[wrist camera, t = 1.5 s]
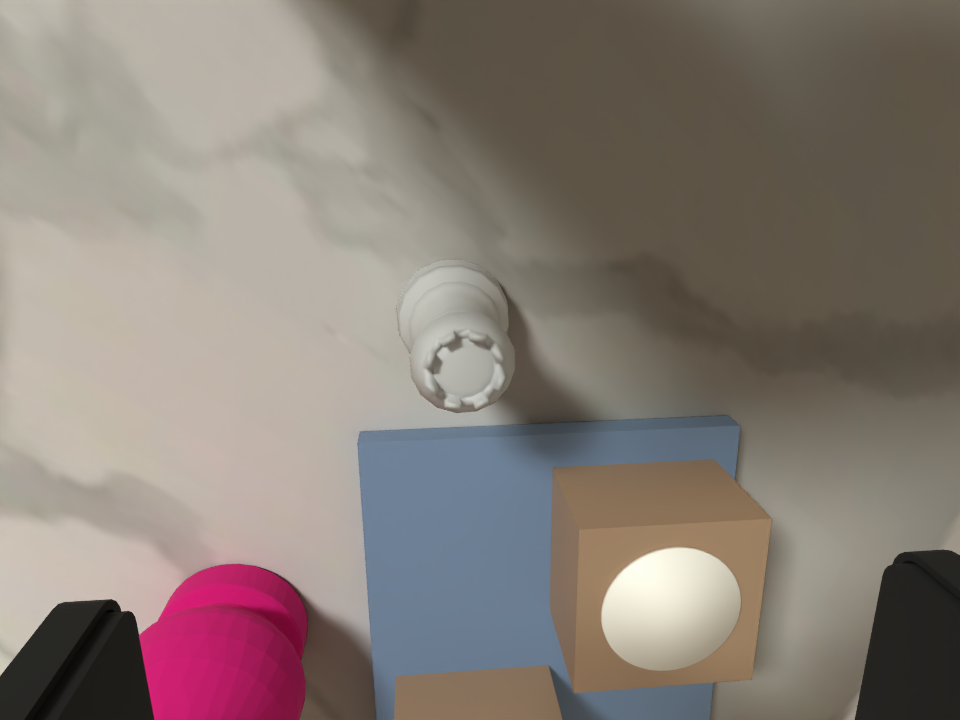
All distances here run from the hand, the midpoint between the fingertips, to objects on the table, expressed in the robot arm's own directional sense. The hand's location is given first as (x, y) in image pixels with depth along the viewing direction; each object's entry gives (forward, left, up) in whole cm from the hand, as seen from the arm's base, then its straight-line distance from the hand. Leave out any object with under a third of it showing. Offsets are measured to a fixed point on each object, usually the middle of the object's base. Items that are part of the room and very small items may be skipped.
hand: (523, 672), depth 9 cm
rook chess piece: (0, 0, -20) cm, 20 cm away
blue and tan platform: (+15, +4, -20) cm, 25 cm away
